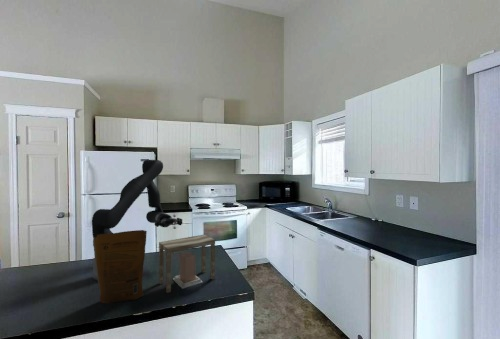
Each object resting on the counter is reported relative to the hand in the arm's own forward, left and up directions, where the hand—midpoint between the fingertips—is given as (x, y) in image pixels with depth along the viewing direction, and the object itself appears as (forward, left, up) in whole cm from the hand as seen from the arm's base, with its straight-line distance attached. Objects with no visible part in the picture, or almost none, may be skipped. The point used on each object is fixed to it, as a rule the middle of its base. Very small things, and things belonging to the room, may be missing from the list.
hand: (173, 224), depth 132 cm
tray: (-4, -18, -24) cm, 30 cm away
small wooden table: (-4, -18, -24) cm, 30 cm away
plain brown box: (-5, -18, -23) cm, 30 cm away
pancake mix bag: (-32, -11, -24) cm, 41 cm away
